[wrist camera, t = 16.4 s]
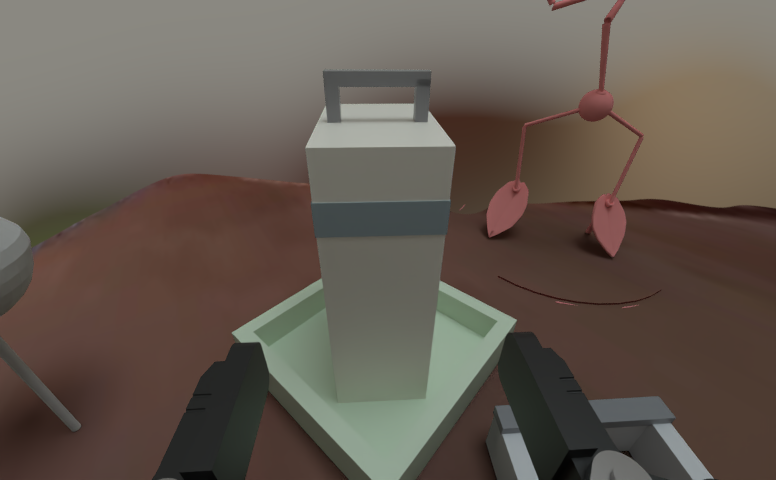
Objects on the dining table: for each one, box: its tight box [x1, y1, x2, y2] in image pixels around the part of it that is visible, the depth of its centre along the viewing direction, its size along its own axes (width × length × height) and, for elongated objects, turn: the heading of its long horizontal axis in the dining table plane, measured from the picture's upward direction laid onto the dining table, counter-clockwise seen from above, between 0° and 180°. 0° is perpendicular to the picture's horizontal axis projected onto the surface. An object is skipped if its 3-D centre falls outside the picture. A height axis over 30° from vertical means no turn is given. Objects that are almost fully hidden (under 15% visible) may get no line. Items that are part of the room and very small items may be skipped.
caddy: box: [305, 70, 456, 403], centre depth 19 cm, size 8×6×18 cm
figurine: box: [461, 0, 661, 308], centre depth 26 cm, size 15×26×35 cm, turn 69°
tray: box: [232, 278, 517, 480], centre depth 24 cm, size 14×14×3 cm
